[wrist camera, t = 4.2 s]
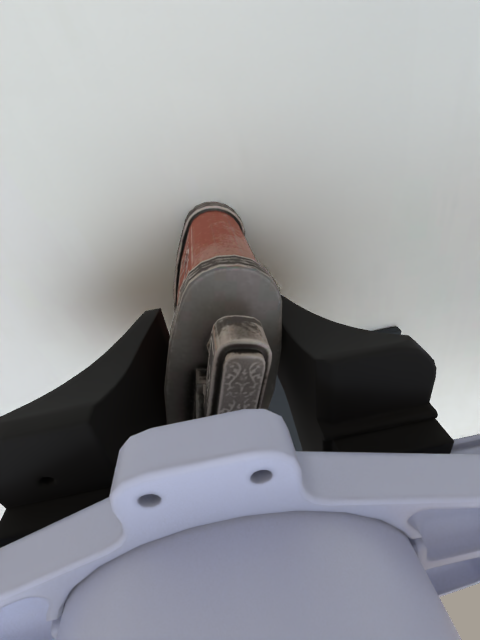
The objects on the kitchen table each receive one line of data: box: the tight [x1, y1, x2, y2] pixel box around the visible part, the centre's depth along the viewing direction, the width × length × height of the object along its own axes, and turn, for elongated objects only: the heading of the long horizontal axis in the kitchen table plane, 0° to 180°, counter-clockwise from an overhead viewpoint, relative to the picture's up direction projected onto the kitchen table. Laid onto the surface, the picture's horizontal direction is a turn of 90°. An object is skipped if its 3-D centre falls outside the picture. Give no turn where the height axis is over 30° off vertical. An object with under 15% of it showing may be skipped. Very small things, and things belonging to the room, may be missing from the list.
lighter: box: [164, 202, 282, 425], centre depth 12 cm, size 8×3×10 cm, turn 172°
